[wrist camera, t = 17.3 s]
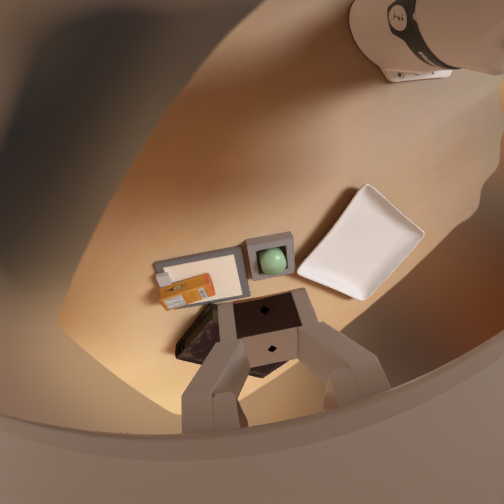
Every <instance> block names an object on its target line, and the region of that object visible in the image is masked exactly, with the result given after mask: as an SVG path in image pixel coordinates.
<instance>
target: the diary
mask: <svg viewBox="0 0 504 504" xmlns="http://www.w3.org/2000/svg"><path fill="white" fill-rule="evenodd" d="M218 342H220V334H219V320H218V305H217V304H214V303H210V304H209V305H208V306H207V307H206V309H205V310H204V311H203V312H202V314H201V315H200V316H199V317H198V318H197V320H196V321H195V322H194V323H193V324H192V326H191V327H190V328H189V329H188V331H187V332H186V333H185V334H184V335H183V337H182V338H181V339H180V340H179V341H178V343H177V344H176V349H175V356H176V359H179V360H183V361H187V362H192V363H196V364H201V365H202V364H203V362H204V361H205V359H206V357H207V356H208V354H209V353H210V351H211V350H212V348H213V346H214V345H215V343H218ZM287 361H289V360H287ZM287 361H282V362H276V363H271V364H267V365H262V366H257V367H252V368H250V369H251V370H250V372H249V374H248V375H250V376H254V377H259V378H264V377H265V376H267V375H268V374H270V373H271V372H273V371H274V370H276V369H277V368H279V367H280V366H282V365H283V364H285V363H286V362H287Z"/></svg>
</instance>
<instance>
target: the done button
mask: <svg viewBox="0 0 504 504" xmlns="http://www.w3.org/2000/svg"><path fill="white" fill-rule="evenodd" d="M259 260H260V264H261V268H262V271H263V272H264V273H266V274H268V275H277V274H279V273H281V272H282V271H283V270H284V269H285V267H286V260H285V257H284V255H283V252H282V250H281V248H280V247H274V248H269V249H263V250H261V251H260V253H259Z"/></svg>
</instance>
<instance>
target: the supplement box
mask: <svg viewBox="0 0 504 504" xmlns="http://www.w3.org/2000/svg"><path fill="white" fill-rule="evenodd" d="M214 295H216V293H215V289H214V285H213V282H212V279H211V276H210V274H209V273H205V274H202V275H199V276H196V277H193V278H190V279H187V280H184V281H181V282H178V283H175V284H172V285H169V286H166V287H163V288H160V289H159V296H160V298H159V301H160V303H161V304H162V306H163V307H164V309H165V310H166V311H168V310H171V309H174V308H177V307H181V306H184V305H187V304H190V303H193V302H196V301H199V300H202V299H205V298H208V297H211V296H214Z"/></svg>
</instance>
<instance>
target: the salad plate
mask: <svg viewBox="0 0 504 504" xmlns="http://www.w3.org/2000/svg"><path fill="white" fill-rule="evenodd" d="M424 235H425V234H424V231H423V230H422V229H420V228H419V227H418V226H417V225H416V224H415V223H413V222H412V221H411V220H410V219H409V218H407V217H406V216H405V215H404V214H403V213H401V212H400V211H399V210H398V209H397V208H396V207H395V206H394V205H392V204H391V203H390V202H389V201H388V200H387V199H386V198H385V197H384V196H383V195H382V194H381V193H380V192H379V191H378V190H376V189H375V188H374V187H372V186H371V185H369V184H364V185H363V186H361V187H360V188H359V190H358V191H357V192H356V194H355V195H354V197H353V198H352V200H351V201H350V203H349V204H348V206H347V207H346V209H345V210H344V212H343V213H342V214H341V216H340V217H339V218H338V220H337V221H336V222H335V224H334V225H333V226H332V228H331V229H330V230H329V231H328V233H327V234H326V235H325V236H324V238H323V239H322V240H321V241H320V242H319V243H318V245H317V246H316V247H315V248H314V249H313V250H312V251H311V253H310V254H309V255H308V256H307V257H306V258H305V259H304V260H303V261H302V263H301V264H300V265H299V267H298V269H297V274H298V275H300V276H302V277H304V278H307V279H309V280H312V281H314V282H317V283H319V284H322V285H324V286H327V287H329V288H332V289H334V290H337V291H339V292H341V293H344V294H346V295H348V296H350V297H353V298H355V299H357V300H360V301H365V300H366V299H368V298H369V297H370V296H371V295H372V294H373V293H374V292H375V291H376V290H377V289H378V288H379V287H380V285H381V284H382V283H383V282H384V281H385V280H386V279H387V278H388V277H389V276H390V275H391V274H392V273H393V272H394V271H395V269H396V268H397V267H398V266H399V265H400V264H401V263H402V262H403V261H404V259H405V258H406V257H407V256H408V255H409V254H410V253H411V251H412V250H413V249H414V248H415V247H416V245H417V244H418V243H419V242H420V241H421V239H422V238H423V237H424Z"/></svg>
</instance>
